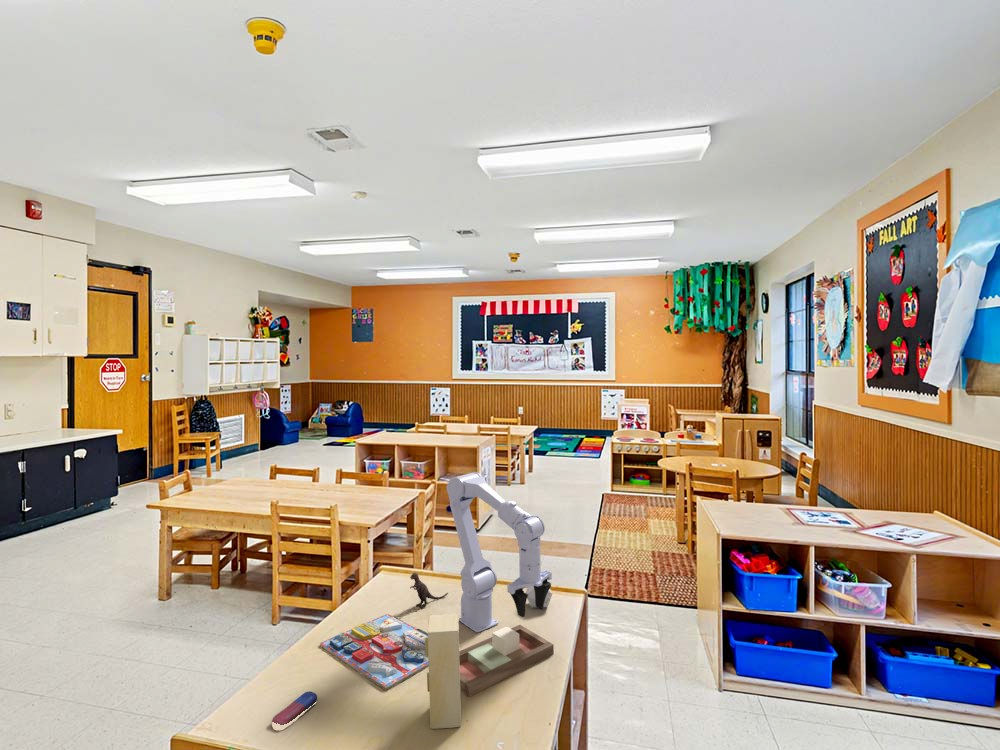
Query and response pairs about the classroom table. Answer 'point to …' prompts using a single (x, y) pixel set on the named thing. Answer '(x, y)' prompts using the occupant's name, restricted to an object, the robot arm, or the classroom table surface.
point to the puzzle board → (382, 650)
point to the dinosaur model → (422, 591)
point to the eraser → (295, 708)
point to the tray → (499, 660)
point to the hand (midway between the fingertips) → (530, 611)
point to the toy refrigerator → (443, 671)
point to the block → (505, 640)
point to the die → (531, 597)
